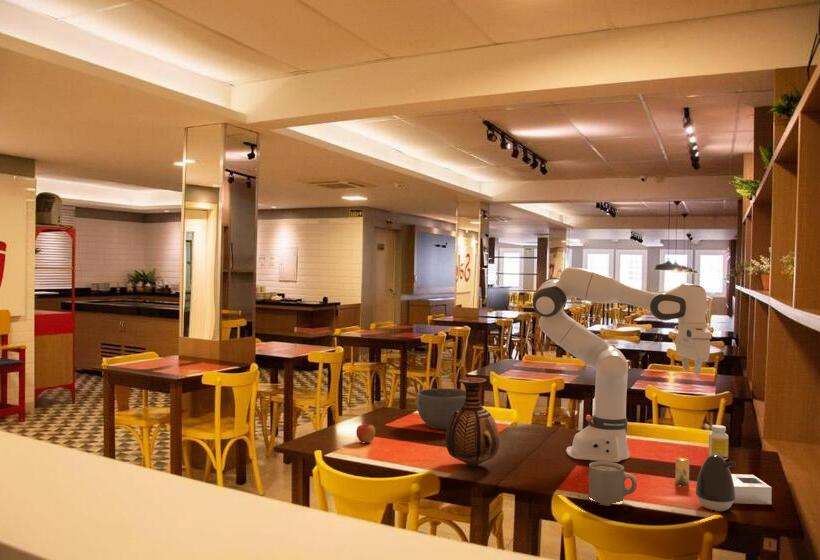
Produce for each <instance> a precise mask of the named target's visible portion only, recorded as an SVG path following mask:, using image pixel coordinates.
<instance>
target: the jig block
mask: <svg viewBox="0 0 820 560" xmlns="http://www.w3.org/2000/svg"><path fill="white" fill-rule="evenodd" d="M731 475H732V479H733V483H734V489H735V500H734V501H733V504H744V505H745V504H746V505H748V504H749V505H772V492H773V491H772V490H773V489H772V488H773V487H772V486H770V485H769V484H767V483H766V482H764V481H763V480H761V479H760V478H758V477H757V476H755V475H754V474H746V473H745V474H740V473H731Z"/></svg>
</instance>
